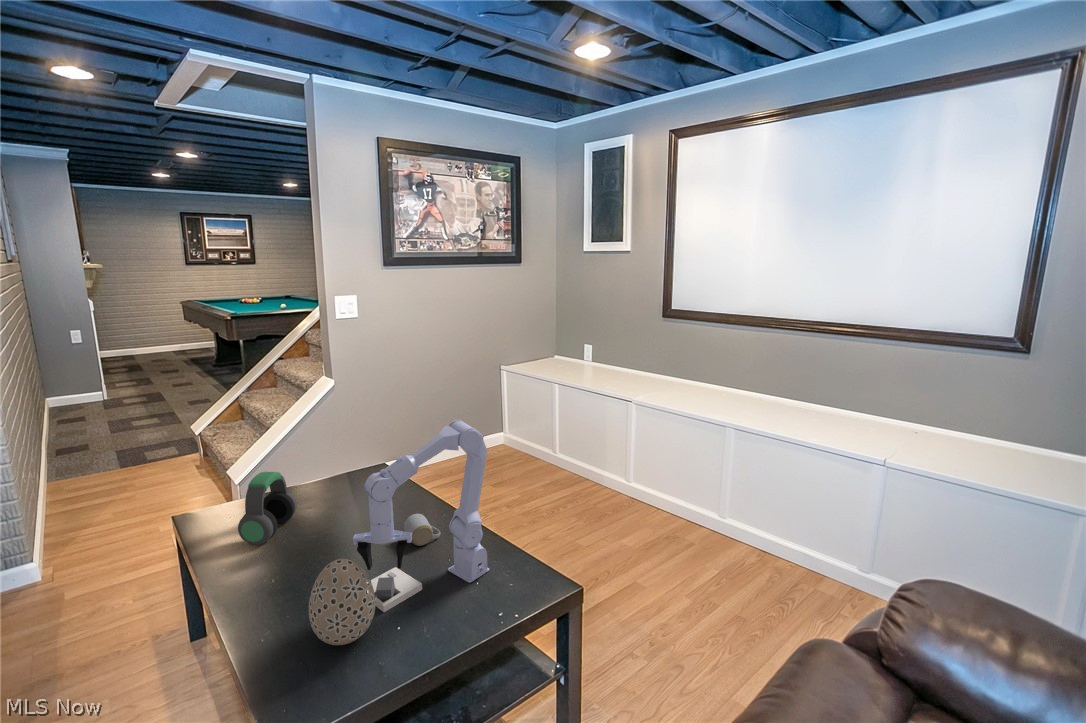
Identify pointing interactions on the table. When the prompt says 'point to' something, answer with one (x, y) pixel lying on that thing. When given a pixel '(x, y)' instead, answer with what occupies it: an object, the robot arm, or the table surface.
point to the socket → (396, 588)
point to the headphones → (265, 508)
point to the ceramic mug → (420, 529)
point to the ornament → (341, 603)
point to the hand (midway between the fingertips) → (384, 567)
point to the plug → (385, 588)
